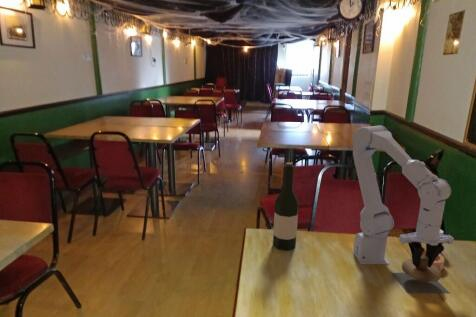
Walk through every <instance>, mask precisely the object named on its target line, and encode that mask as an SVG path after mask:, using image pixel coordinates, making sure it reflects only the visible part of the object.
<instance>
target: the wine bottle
mask: <svg viewBox="0 0 476 317" xmlns="http://www.w3.org/2000/svg"><path fill="white" fill-rule="evenodd" d="M284 163H285V164H284V166H283V178H282V189H281V191H280V193H279V194H278V195H277V197H276V198H275V200H274V213H273V214H274V217H273V218H274V219H273V232H272V233H273V236H272V247H274V248H276V249H277V250H279V251H286V252H287V251H292V250H295V249H296V245H297V233H298V231H297V230H298V217H299V204H300V203H299V201H300V200H299V198H298V197H297V195H296V193H295V191H294V190H293V188H294V185H293V184H294V172H295V165H293V164H294V163H292V162H284Z"/></svg>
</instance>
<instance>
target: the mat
mask: <svg viewBox="0 0 476 317" xmlns="http://www.w3.org/2000/svg"><path fill="white" fill-rule="evenodd" d="M391 275H392V276H393V277H394V278H395V280H396V281H397V282H398V283H399V284H400V285H401V287H402V288H403V289H404V290H405V292H406V293H407V294H451V293H450V291H449V290H448V289H447V288H445V286H444V285H442V284H441V282H440V281H439V280H438V281H434V282H427V281H421V280H418V279H415V278H413V277H411V276H409V275H407V274H406V273H405V272H391Z"/></svg>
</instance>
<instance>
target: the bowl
mask: <svg viewBox="0 0 476 317" xmlns="http://www.w3.org/2000/svg"><path fill="white" fill-rule="evenodd" d="M424 249H425V250H424V252H423V254H422V255H424V256H425V255H426V248H424ZM410 260H412V257H411V259H410ZM432 265H434V266H435V267H437V268H438V269H439V270H440V272H442V270H444V265H445V256H443V255H442V253H441V254H439V255H438V256H437V257H436V259H435V260H434V262H433V264H432Z"/></svg>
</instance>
